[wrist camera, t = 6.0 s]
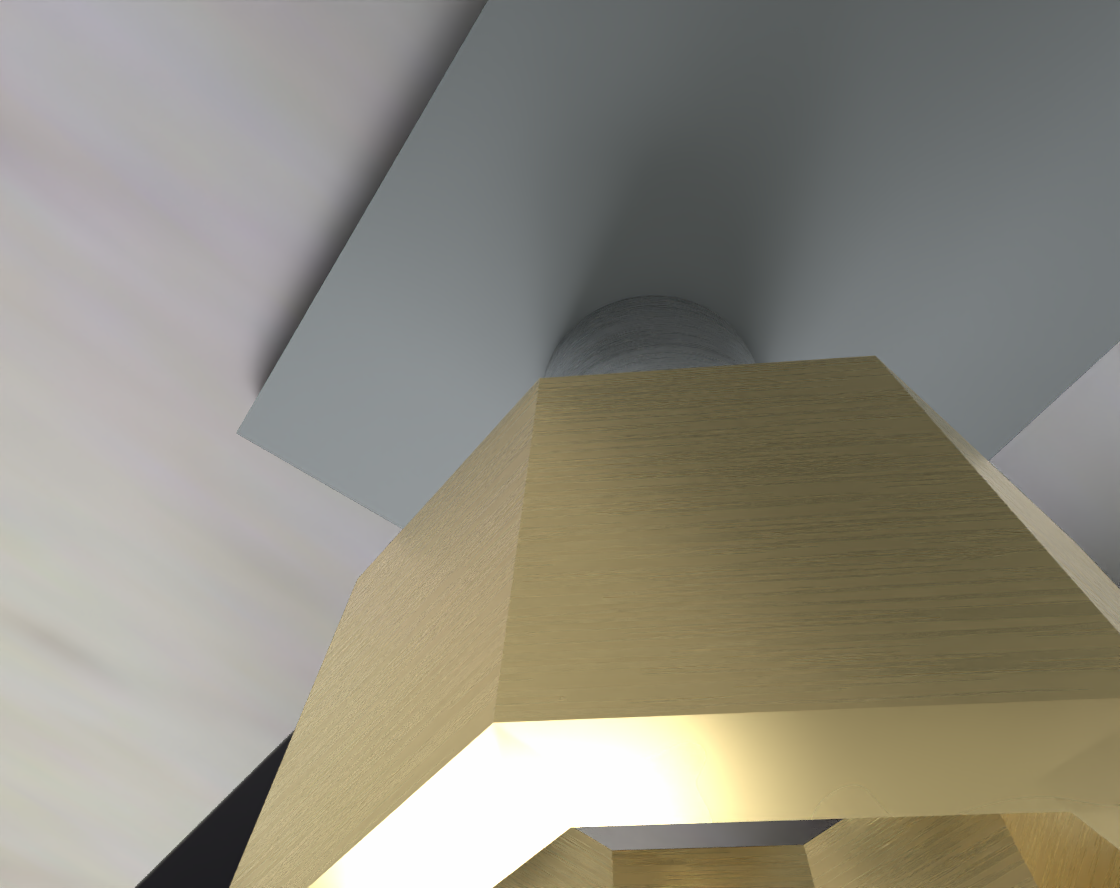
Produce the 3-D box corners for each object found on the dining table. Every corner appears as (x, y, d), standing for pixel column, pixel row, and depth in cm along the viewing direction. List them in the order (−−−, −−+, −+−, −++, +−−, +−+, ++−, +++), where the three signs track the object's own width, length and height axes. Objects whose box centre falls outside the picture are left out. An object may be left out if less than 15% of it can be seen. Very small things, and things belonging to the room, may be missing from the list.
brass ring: (1123, 339, 7) (1702, 675, 3) (994, 876, 10) (1218, 1343, 6) (312, 392, 7) (54, 739, 4) (433, 891, 10) (354, 1335, 7)
